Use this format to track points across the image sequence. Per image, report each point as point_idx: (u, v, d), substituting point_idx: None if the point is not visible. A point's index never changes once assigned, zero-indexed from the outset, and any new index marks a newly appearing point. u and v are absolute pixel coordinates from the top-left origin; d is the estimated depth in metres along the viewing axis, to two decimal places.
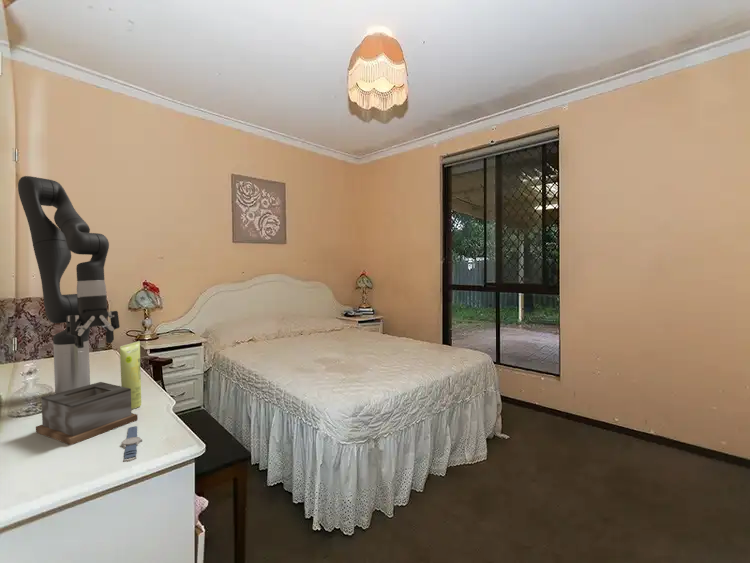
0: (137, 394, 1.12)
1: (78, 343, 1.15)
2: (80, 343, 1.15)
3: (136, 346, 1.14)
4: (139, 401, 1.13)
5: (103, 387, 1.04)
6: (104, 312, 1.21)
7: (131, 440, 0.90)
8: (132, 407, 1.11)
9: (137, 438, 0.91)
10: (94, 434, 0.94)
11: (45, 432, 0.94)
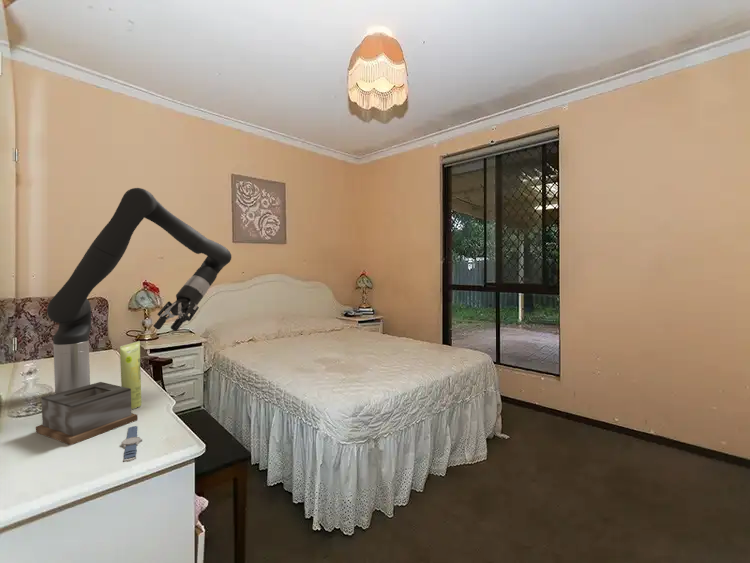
0: (137, 394, 1.12)
1: None
2: None
3: (136, 346, 1.14)
4: (139, 401, 1.13)
5: (103, 387, 1.04)
6: None
7: (131, 440, 0.90)
8: (132, 407, 1.11)
9: (137, 438, 0.91)
10: (94, 434, 0.94)
11: (45, 432, 0.94)
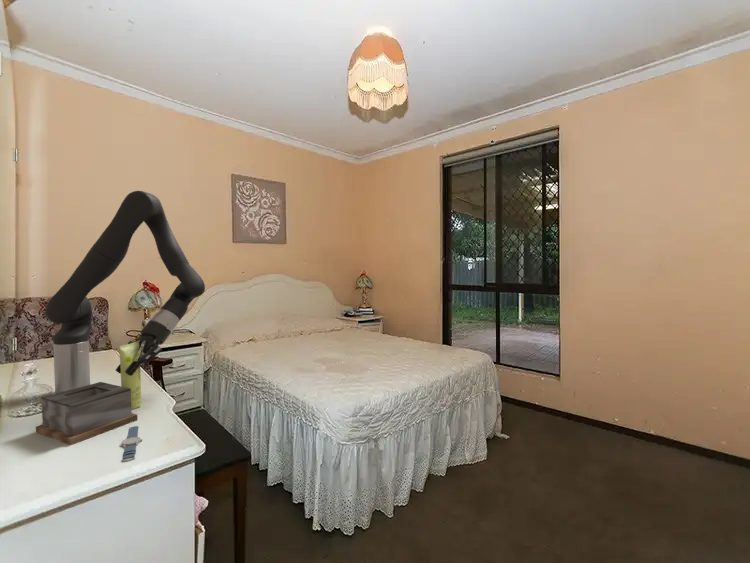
0: (137, 394, 1.12)
1: None
2: None
3: (136, 346, 1.14)
4: (139, 401, 1.13)
5: (103, 387, 1.04)
6: None
7: (131, 440, 0.90)
8: (132, 407, 1.11)
9: (137, 438, 0.91)
10: (94, 434, 0.94)
11: (45, 432, 0.94)
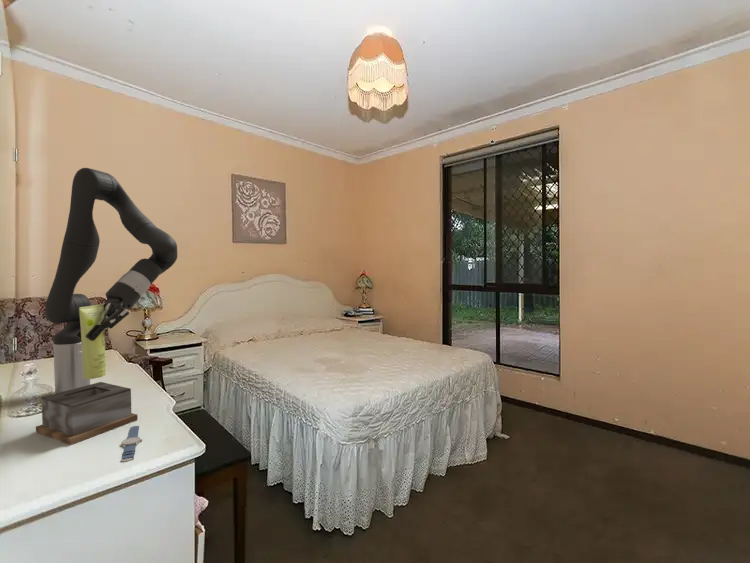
0: (100, 362, 1.00)
1: None
2: None
3: (99, 309, 1.02)
4: (103, 370, 1.01)
5: (103, 387, 1.04)
6: None
7: (131, 440, 0.90)
8: (94, 376, 0.99)
9: (137, 438, 0.91)
10: (94, 434, 0.94)
11: (45, 432, 0.94)
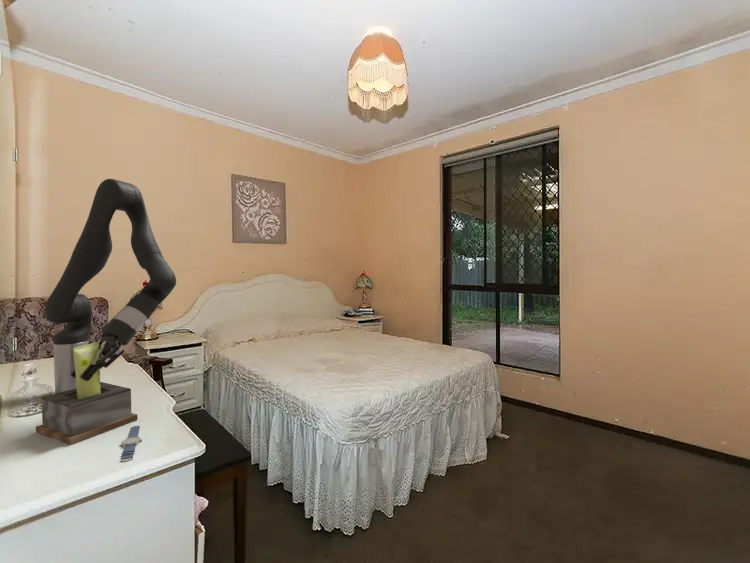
0: None
1: None
2: None
3: (94, 348, 1.01)
4: None
5: (103, 387, 1.04)
6: None
7: (131, 440, 0.90)
8: None
9: (137, 438, 0.91)
10: (94, 434, 0.94)
11: (45, 432, 0.94)
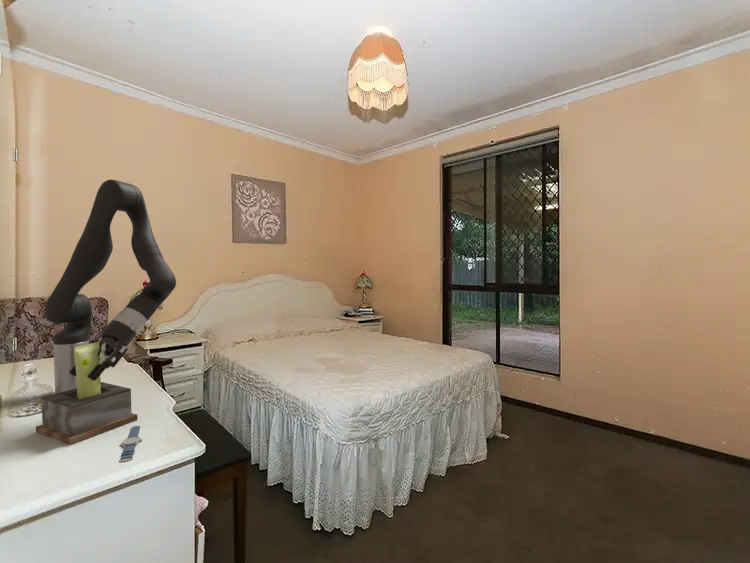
0: None
1: None
2: None
3: (95, 348, 1.01)
4: None
5: (103, 387, 1.04)
6: None
7: (131, 440, 0.90)
8: None
9: (137, 438, 0.91)
10: (94, 434, 0.94)
11: (45, 432, 0.94)
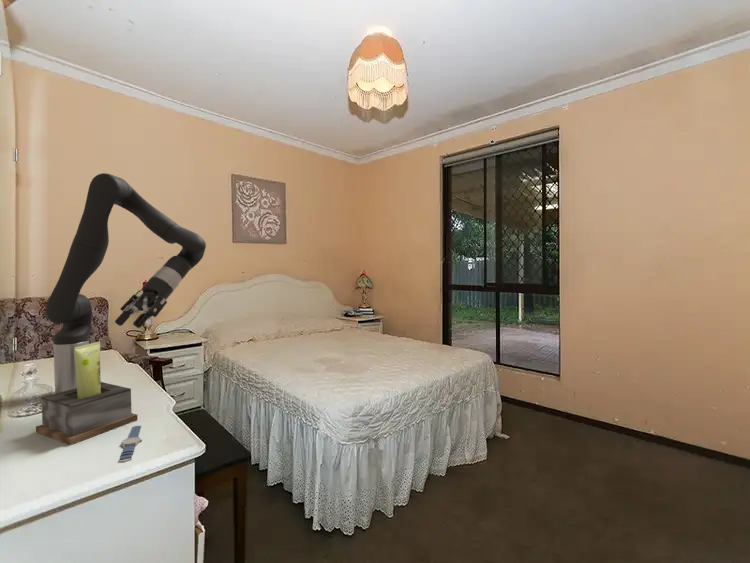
0: None
1: None
2: None
3: (95, 348, 1.01)
4: None
5: (103, 387, 1.04)
6: None
7: (131, 440, 0.90)
8: None
9: (137, 438, 0.91)
10: (94, 434, 0.94)
11: (45, 432, 0.94)
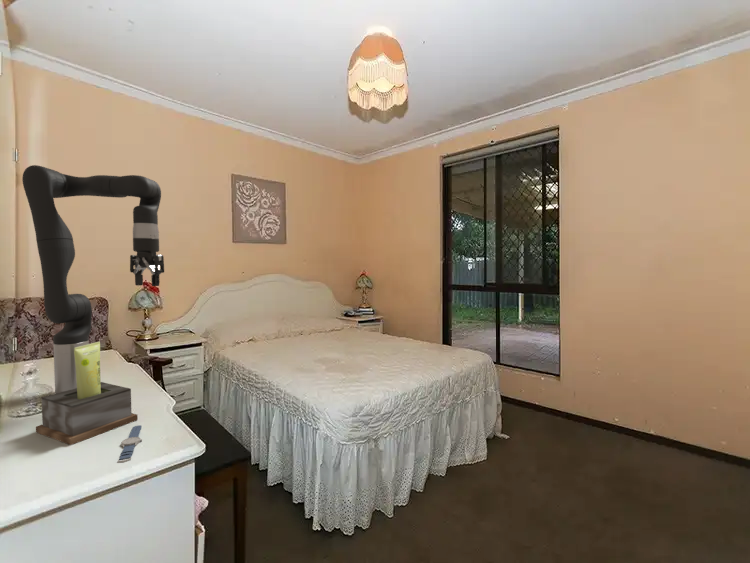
0: None
1: None
2: None
3: (95, 348, 1.01)
4: None
5: (103, 387, 1.04)
6: None
7: (131, 440, 0.90)
8: None
9: (137, 438, 0.91)
10: (94, 434, 0.94)
11: (45, 432, 0.94)
